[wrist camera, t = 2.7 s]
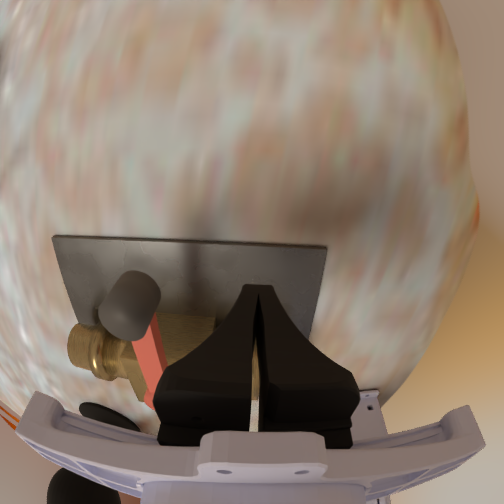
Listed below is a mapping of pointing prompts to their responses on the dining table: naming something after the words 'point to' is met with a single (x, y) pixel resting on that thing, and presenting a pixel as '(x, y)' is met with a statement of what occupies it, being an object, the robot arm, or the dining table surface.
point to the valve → (178, 293)
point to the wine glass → (76, 486)
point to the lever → (137, 323)
